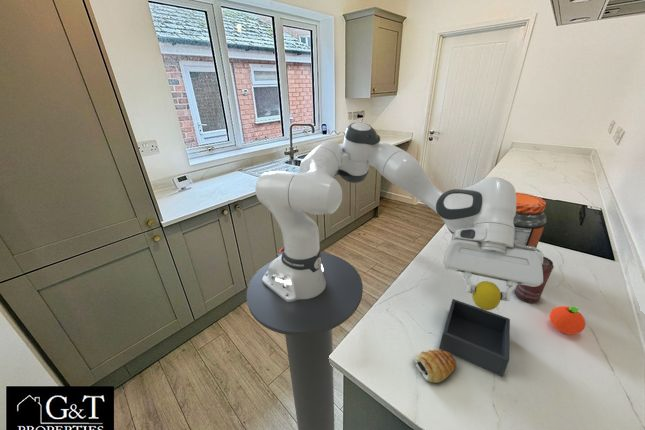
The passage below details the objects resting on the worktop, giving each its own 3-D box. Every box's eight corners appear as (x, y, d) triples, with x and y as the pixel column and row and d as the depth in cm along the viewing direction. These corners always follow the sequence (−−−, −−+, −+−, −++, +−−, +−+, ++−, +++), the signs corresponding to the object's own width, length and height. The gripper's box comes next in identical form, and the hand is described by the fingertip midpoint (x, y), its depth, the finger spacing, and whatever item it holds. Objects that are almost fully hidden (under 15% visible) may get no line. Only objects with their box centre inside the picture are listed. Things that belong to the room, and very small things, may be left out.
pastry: (442, 349, 66) (444, 339, 65) (463, 373, 61) (466, 363, 59) (411, 361, 64) (413, 351, 62) (430, 388, 58) (432, 378, 56)
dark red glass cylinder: (508, 292, 83) (522, 256, 77) (523, 287, 85) (538, 252, 79) (527, 306, 78) (543, 268, 72) (543, 300, 80) (560, 263, 73)
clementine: (555, 314, 75) (565, 295, 72) (586, 331, 69) (598, 312, 66) (540, 325, 72) (549, 305, 69) (571, 344, 66) (582, 324, 63)
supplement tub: (484, 246, 107) (502, 186, 95) (531, 262, 97) (557, 197, 85) (470, 263, 97) (488, 199, 86) (521, 283, 87) (548, 213, 75)
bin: (439, 348, 67) (442, 333, 64) (449, 313, 77) (452, 298, 74) (502, 376, 60) (509, 360, 57) (504, 333, 70) (510, 318, 67)
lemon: (491, 301, 65) (499, 276, 62) (499, 319, 60) (508, 292, 57) (466, 298, 66) (473, 273, 63) (472, 315, 61) (480, 289, 58)
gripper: (537, 251, 63) (535, 309, 60) (446, 235, 71) (438, 286, 67) (550, 245, 58) (548, 308, 54) (449, 229, 65) (441, 284, 62)
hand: (486, 296), depth 61 cm, fingers closed on lemon, 5 cm apart
